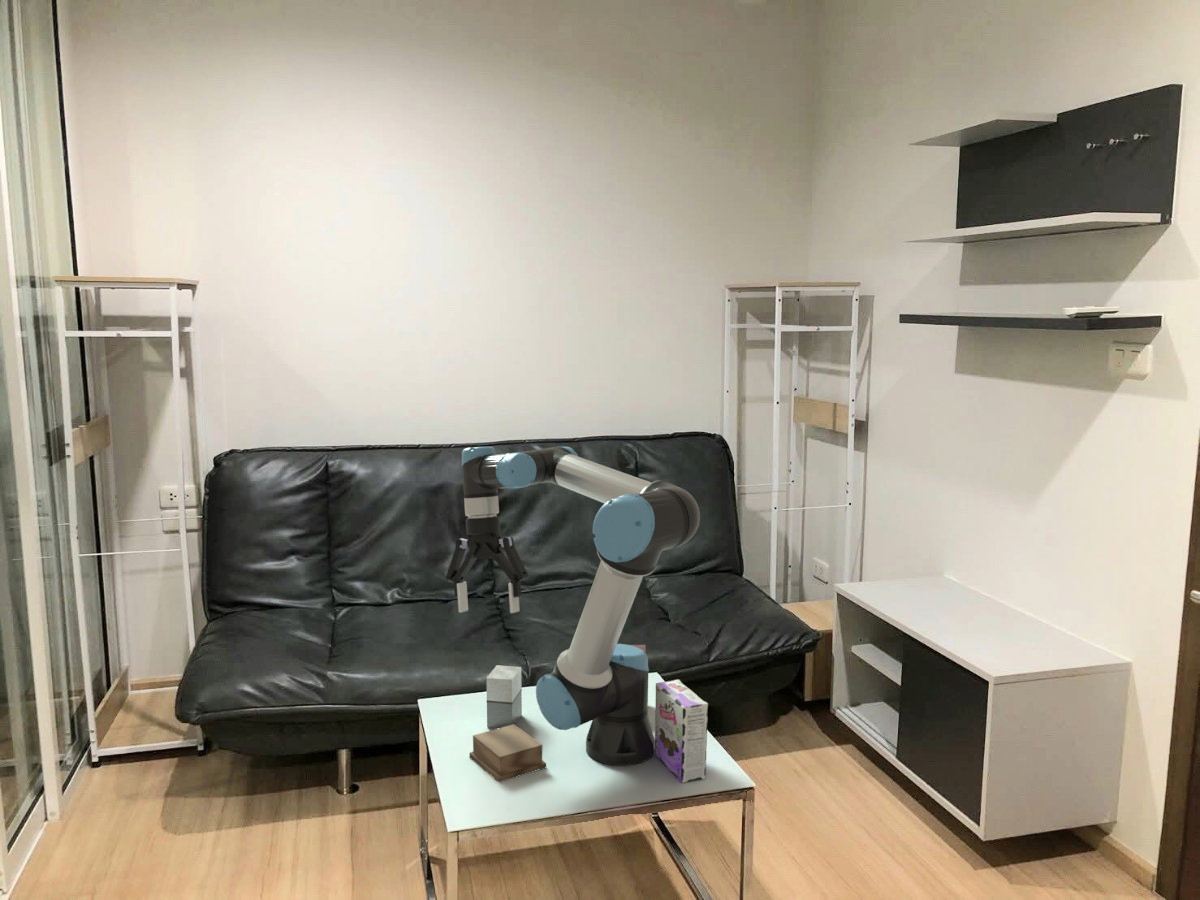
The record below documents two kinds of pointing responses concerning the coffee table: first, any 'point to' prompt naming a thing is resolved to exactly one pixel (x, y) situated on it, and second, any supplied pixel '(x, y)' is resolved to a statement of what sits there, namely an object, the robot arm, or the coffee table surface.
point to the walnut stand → (507, 752)
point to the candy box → (681, 730)
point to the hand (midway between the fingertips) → (488, 611)
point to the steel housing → (504, 696)
